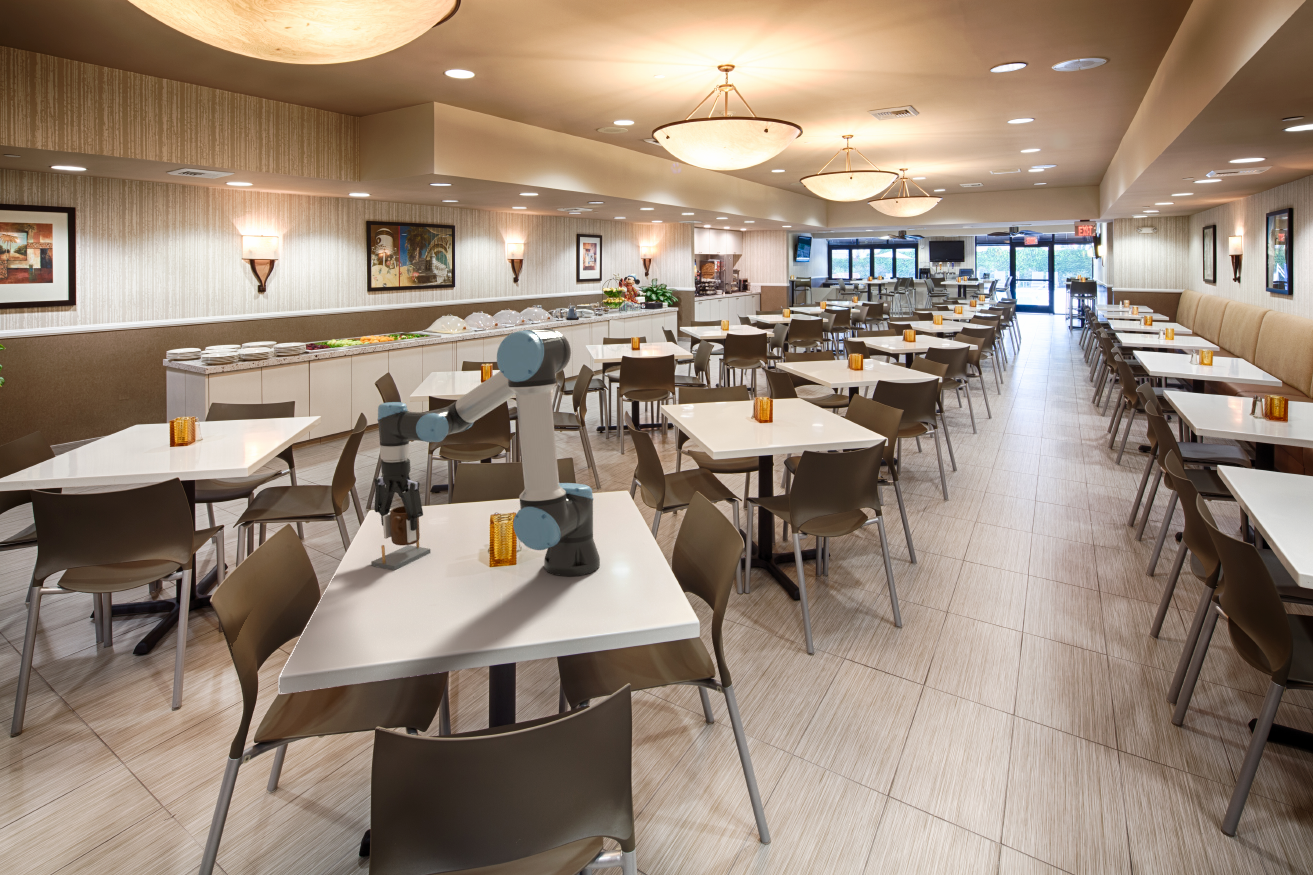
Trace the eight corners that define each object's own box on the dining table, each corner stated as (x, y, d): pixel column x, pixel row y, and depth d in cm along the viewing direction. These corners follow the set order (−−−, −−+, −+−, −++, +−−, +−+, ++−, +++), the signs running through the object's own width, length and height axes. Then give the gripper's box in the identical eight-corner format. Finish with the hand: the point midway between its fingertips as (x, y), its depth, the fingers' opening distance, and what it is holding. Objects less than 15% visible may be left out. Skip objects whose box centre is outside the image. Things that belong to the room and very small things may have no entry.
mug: (408, 552, 198) (406, 518, 196) (380, 551, 198) (378, 518, 196) (423, 537, 210) (422, 505, 208) (397, 536, 210) (395, 505, 208)
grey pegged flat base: (430, 552, 210) (429, 532, 209) (394, 570, 197) (393, 548, 195) (408, 549, 213) (407, 528, 212) (371, 565, 200) (370, 544, 198)
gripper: (434, 459, 199) (438, 539, 203) (376, 453, 206) (381, 530, 211) (416, 465, 192) (420, 548, 196) (356, 458, 200) (361, 538, 204)
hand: (400, 538), depth 204 cm, fingers closed on mug, 7 cm apart
